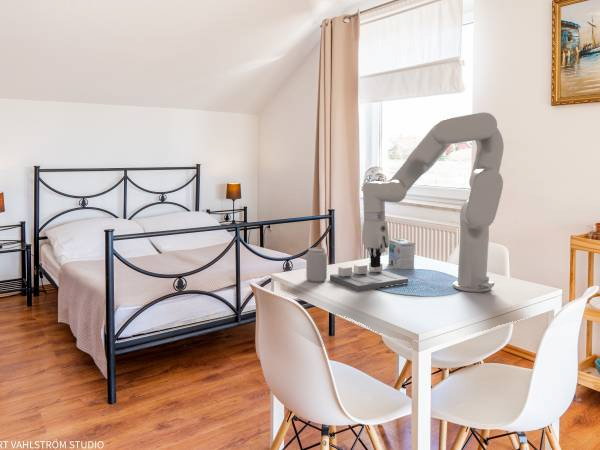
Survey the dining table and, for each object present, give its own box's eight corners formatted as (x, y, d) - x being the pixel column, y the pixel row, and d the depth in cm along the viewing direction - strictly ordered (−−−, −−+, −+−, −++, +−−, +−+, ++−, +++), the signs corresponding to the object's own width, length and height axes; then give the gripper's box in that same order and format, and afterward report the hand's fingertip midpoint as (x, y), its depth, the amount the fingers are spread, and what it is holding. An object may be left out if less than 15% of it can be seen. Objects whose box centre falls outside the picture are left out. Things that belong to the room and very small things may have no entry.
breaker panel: (408, 283, 189) (408, 269, 188) (358, 291, 178) (358, 276, 177) (377, 273, 204) (377, 260, 204) (329, 280, 194) (330, 266, 193)
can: (315, 284, 188) (315, 251, 186) (302, 280, 194) (302, 248, 192) (330, 280, 193) (331, 249, 191) (317, 277, 198) (317, 246, 197)
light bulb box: (387, 264, 222) (388, 239, 220) (402, 263, 224) (402, 238, 222) (399, 269, 212) (400, 243, 210) (414, 268, 214) (415, 242, 212)
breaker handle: (367, 273, 195) (367, 265, 195) (358, 274, 193) (358, 266, 193) (362, 271, 198) (362, 263, 197) (353, 272, 196) (353, 264, 195)
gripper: (396, 217, 181) (397, 268, 184) (370, 213, 194) (371, 262, 197) (378, 219, 178) (380, 271, 180) (353, 215, 191) (355, 264, 193)
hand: (375, 266), depth 189 cm, fingers closed
